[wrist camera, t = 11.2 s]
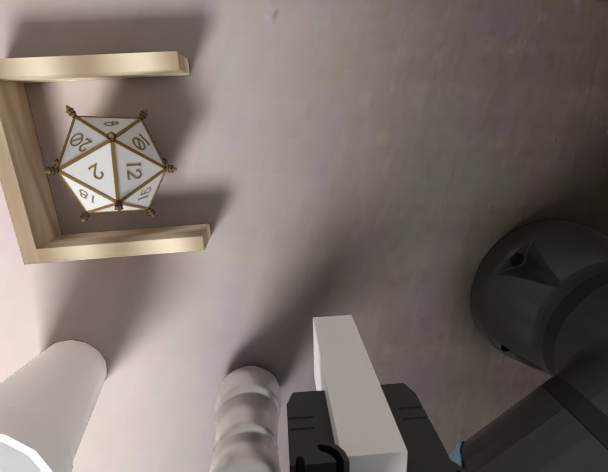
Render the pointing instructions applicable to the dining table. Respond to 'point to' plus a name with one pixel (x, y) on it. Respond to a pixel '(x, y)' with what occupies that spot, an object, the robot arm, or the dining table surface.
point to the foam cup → (49, 407)
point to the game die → (110, 164)
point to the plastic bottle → (247, 422)
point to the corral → (29, 166)
